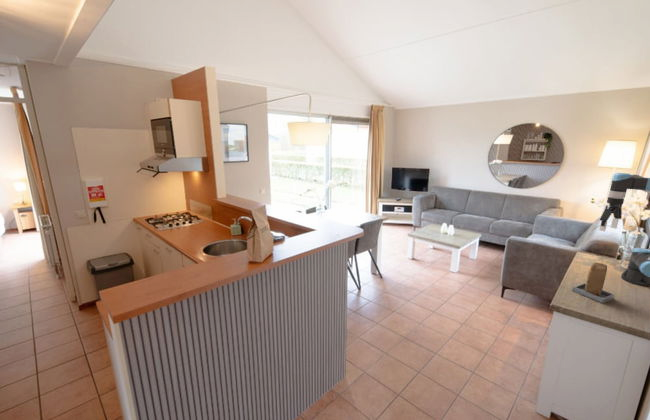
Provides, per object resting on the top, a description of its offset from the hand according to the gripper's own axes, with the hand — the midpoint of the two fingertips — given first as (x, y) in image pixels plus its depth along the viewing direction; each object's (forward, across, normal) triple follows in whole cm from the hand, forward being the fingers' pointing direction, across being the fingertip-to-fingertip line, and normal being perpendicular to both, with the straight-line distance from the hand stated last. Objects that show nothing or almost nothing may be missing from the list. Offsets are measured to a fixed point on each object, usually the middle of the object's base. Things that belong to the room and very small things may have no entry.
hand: (607, 229), depth 192 cm
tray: (+37, +24, +10) cm, 45 cm away
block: (+36, +24, +10) cm, 44 cm away
